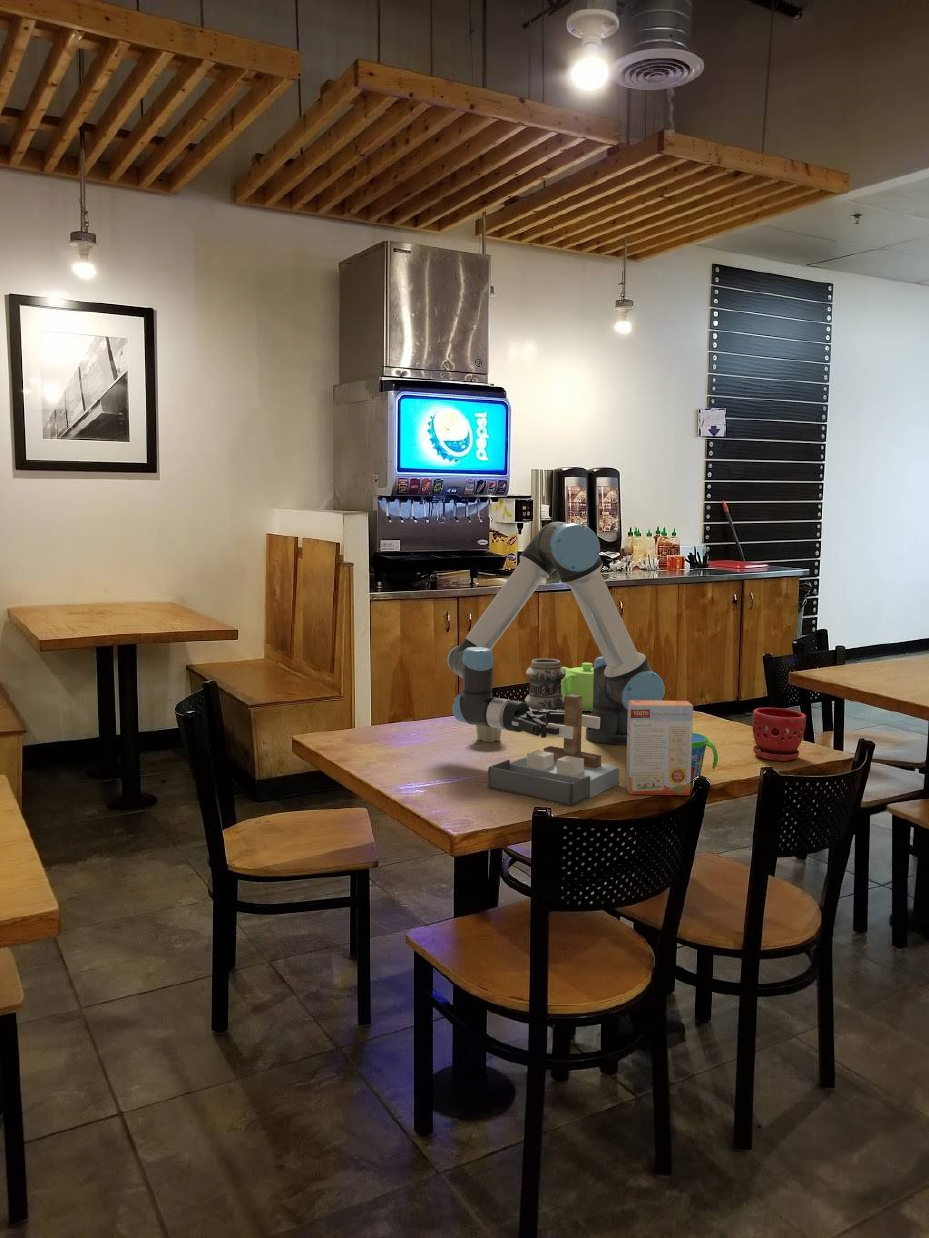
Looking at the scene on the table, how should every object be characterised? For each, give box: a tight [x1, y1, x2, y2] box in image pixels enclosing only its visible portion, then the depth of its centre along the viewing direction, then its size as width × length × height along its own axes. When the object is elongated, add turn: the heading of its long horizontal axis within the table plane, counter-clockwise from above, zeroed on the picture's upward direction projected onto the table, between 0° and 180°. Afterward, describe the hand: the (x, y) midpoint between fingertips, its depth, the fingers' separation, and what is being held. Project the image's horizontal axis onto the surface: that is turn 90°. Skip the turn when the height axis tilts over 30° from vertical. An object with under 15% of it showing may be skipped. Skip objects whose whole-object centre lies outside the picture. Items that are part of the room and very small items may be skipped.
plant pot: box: [751, 707, 807, 762], centre depth 260 cm, size 13×13×12 cm
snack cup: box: [691, 732, 719, 782], centre depth 239 cm, size 16×10×10 cm
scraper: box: [543, 694, 602, 768], centre depth 237 cm, size 3×14×16 cm, turn 54°
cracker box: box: [625, 700, 694, 796], centre depth 227 cm, size 14×6×21 cm, turn 88°
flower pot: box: [475, 725, 502, 743], centre depth 275 cm, size 9×9×9 cm
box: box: [487, 759, 590, 807], centre depth 226 cm, size 8×22×5 cm, turn 54°
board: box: [510, 756, 620, 799], centre depth 235 cm, size 14×22×4 cm, turn 54°
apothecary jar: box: [524, 658, 566, 722], centre depth 300 cm, size 12×12×18 cm
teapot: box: [561, 662, 594, 712], centre depth 318 cm, size 19×20×14 cm
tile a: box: [526, 750, 554, 770], centre depth 234 cm, size 4×4×3 cm
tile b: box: [557, 756, 584, 776], centre depth 229 cm, size 4×4×3 cm
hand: (586, 728), depth 235 cm, fingers open, 12 cm apart
